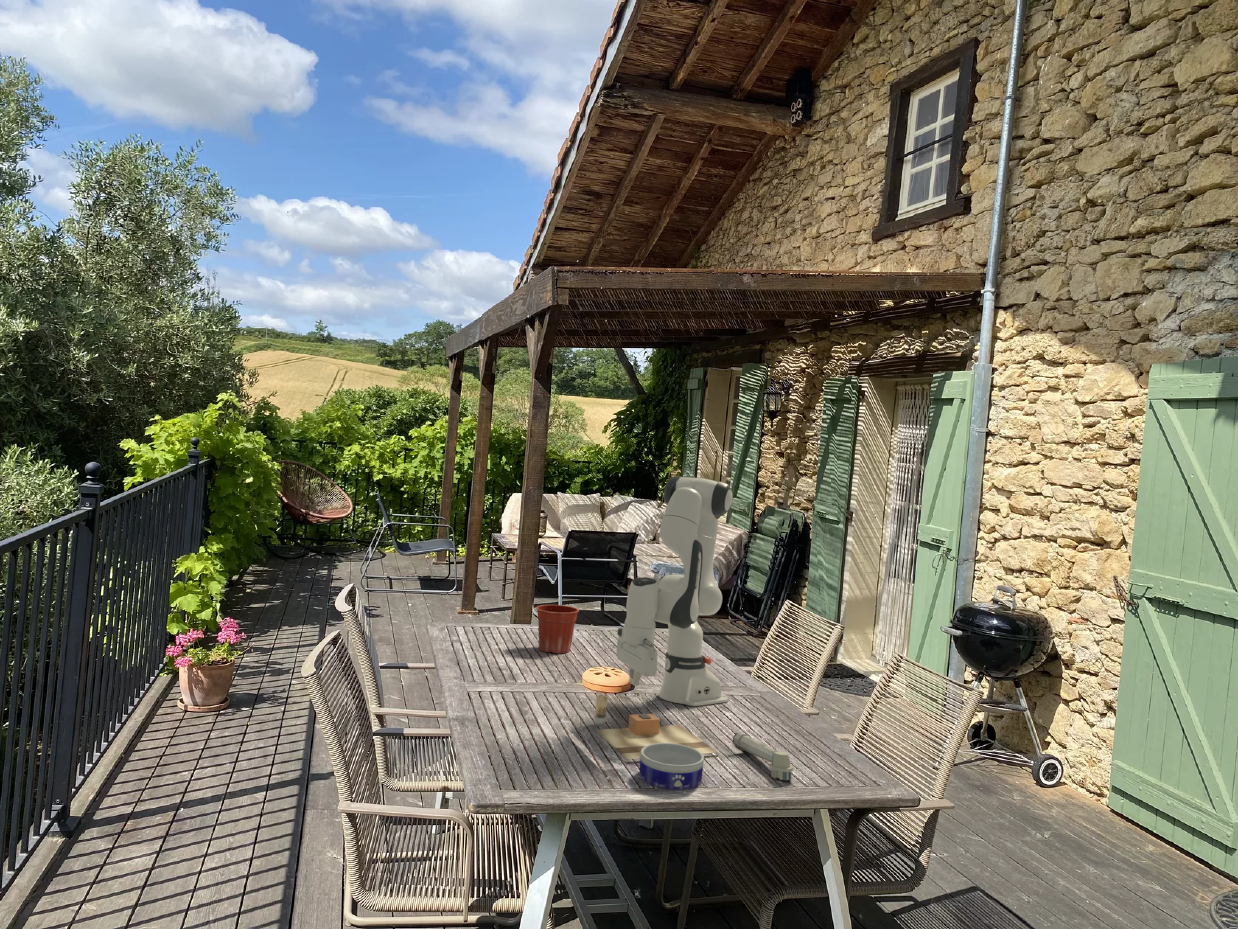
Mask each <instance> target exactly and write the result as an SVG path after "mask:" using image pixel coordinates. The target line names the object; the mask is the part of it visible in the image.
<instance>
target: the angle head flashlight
mask: <svg viewBox="0 0 1238 929" xmlns="http://www.w3.org/2000/svg"><path fill="white" fill-rule="evenodd" d="M732 744H733V745H734V746H735V747H736V748H738V749H739V750H740V751H742V752H747V753H749V754H751V755H752V756H753V755H754V756H755V757H758V758H760V759H762V760H764V761H767V762H769V769H770V772H771V773H770V775H771V778H772V777H773V779H774V780H775V779H779V781H789V780H792V778H793V776H792V772H793V771H794V766H793V765H791V760H790V755H789V753H788V752H785V751H777V750H776V749H774V748H772V747H770V746H769V745H766V744H764V743H763V742H761V741H759V740H757V739H756V738H754V737H752V736H751V735H750V734H749V733H744V732H736V733H735V734H734V735H733V737H732Z"/></svg>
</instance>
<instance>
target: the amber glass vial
mask: <svg viewBox="0 0 1238 929" xmlns="http://www.w3.org/2000/svg"><path fill="white" fill-rule="evenodd" d="M595 699H596V700H595V710H594V711H595V713H594V726H596V727H601V728H602V727H605V726H606V720H607V708H608V707H607V706H608V696H606V695H601V694H600V695H596V698H595Z"/></svg>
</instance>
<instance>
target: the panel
mask: <svg viewBox="0 0 1238 929" xmlns="http://www.w3.org/2000/svg"><path fill="white" fill-rule="evenodd" d="M595 732H596V733H597V734H598V735H600V736H601V738H603V739H604V740H605V741H606V742H607V743H608V744H610V746H612V747H613V748H614V749H615V750H616V751H617V752H619V753H620V754H621V755H622V756H623V758H625V759H626V760H627V761H626V762H624V763H625V764H626V765H632V764H633V765H634V764H640V754H641V750H642V748H643V747H645V746H647V745H650V744H655V743H674V744H681V745H685V746H689V747H692V748H694V749H696V750H698V751H699V752H701V753H702V754H703V756H704V759H708V758H709V759H710V757H711V758H718V757H719V755H718V753H719V752H718V751H717V750H716V749H714V748H713V747H711V746H710V745H709V744H707V743H706V742H704V741H703V740H702V739H700V738H699V737H697V736H696V735H695V734H693V733H691V731H689V730H688V729H686V728H685V727H684V726H682V725H680V724H675V725H674V724H672V725H671V724H669V725H660V727H659V734H650V735H635V734H633V733H632V732H631V731H630V730H629V729H628V727H625V728H624V727H623V728H606V729H595ZM704 754H712V755H704ZM628 760H637V761H628Z"/></svg>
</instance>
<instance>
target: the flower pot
mask: <svg viewBox="0 0 1238 929" xmlns="http://www.w3.org/2000/svg"><path fill="white" fill-rule="evenodd" d="M535 609H536V610H537V618H538V620H537V621H538V624H537V625H538V650H539V651H541V652H544V653H550V652H551V653H552V654H566V653H569V652H570V651H571V649H572V641H573V635H574V630H575V629H574V628H575V624H576V621H577V617H578V613H579V612H580V609H578V608H577V607H575V606H574V607H573V606H570V605H562V604H559V605H558V604H542V605H537V606H536V608H535Z"/></svg>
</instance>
